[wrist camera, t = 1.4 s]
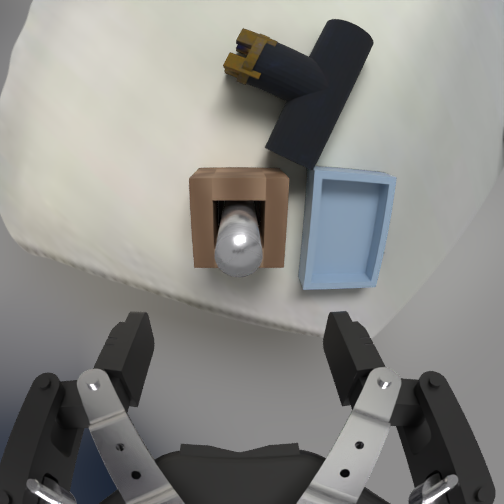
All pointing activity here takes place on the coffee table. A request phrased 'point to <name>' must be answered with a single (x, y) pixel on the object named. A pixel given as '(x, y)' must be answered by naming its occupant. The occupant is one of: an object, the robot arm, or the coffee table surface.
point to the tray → (344, 227)
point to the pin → (238, 239)
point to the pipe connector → (303, 84)
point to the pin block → (239, 188)
